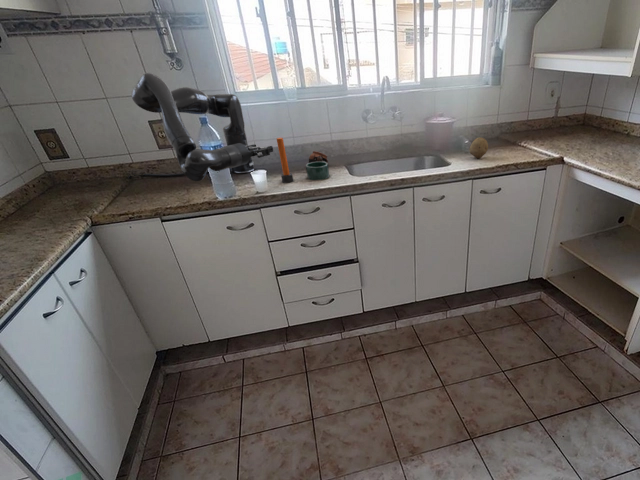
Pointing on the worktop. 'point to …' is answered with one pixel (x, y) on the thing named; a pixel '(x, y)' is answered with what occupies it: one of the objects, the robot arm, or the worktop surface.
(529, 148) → the worktop surface
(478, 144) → the brown potato
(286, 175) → the dish brush
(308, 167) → the utensil cup
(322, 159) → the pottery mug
